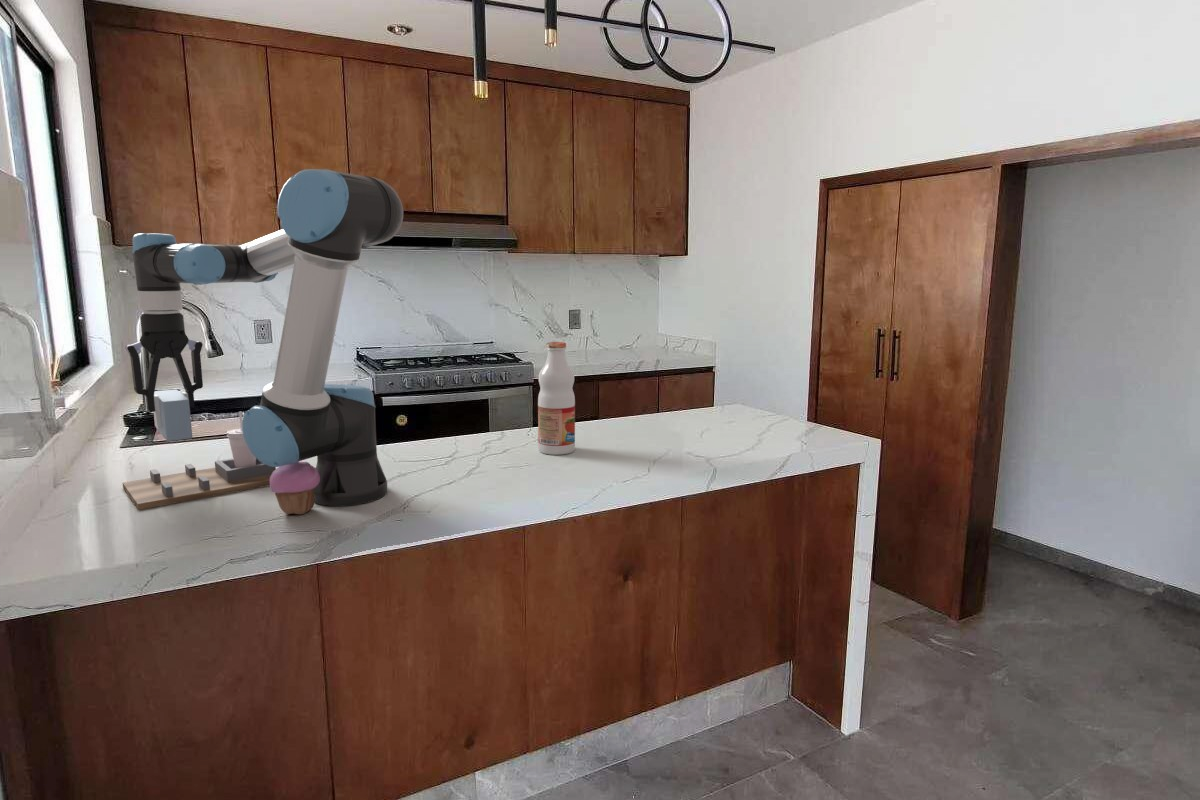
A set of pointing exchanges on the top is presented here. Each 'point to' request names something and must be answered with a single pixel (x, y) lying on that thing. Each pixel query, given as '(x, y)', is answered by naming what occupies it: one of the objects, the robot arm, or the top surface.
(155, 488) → the jig board
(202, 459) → the top surface
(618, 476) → the top surface
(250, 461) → the smoothie
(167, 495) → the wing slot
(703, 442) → the top surface
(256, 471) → the frame
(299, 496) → the cupcake
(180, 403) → the light blue rectangular block
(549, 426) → the fruit juice
